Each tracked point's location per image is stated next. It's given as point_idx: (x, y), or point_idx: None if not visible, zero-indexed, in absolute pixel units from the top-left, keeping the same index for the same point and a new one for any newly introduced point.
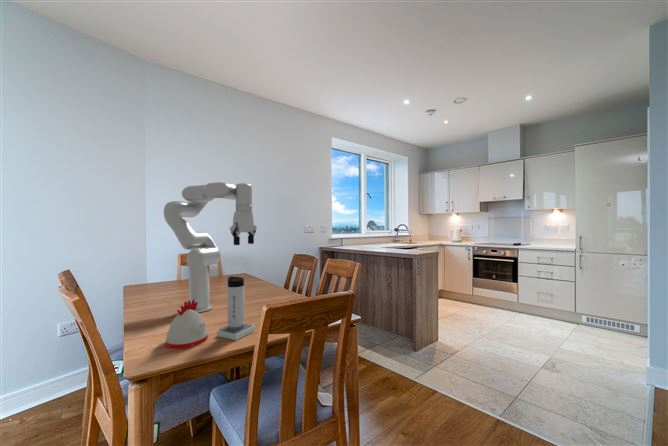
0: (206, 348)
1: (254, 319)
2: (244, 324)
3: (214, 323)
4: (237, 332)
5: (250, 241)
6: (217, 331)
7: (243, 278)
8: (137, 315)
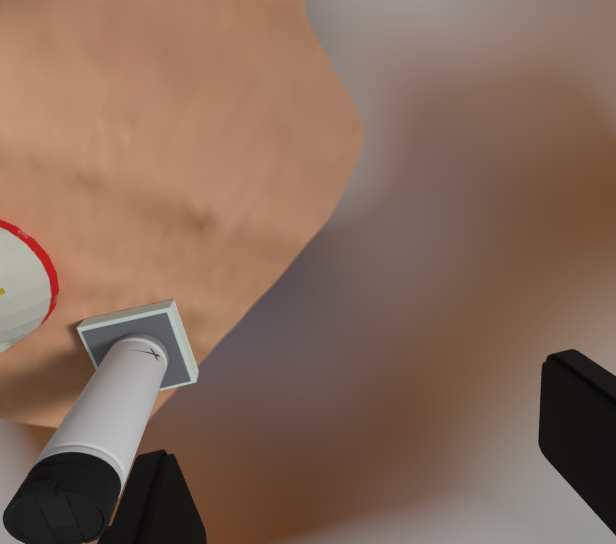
0: (20, 377)
1: (272, 282)
2: (175, 357)
3: (137, 193)
4: None
5: (572, 438)
6: (79, 329)
7: (107, 525)
8: None
